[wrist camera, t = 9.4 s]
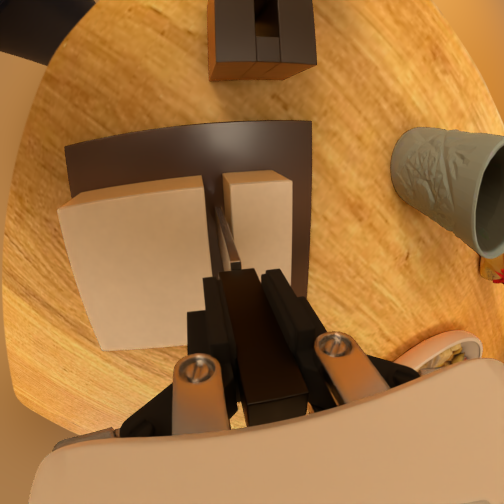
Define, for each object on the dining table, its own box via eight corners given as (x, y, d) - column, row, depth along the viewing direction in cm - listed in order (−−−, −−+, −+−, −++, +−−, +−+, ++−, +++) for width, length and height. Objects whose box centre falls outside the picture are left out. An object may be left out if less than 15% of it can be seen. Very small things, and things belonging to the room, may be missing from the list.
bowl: (303, 437, 43) (317, 473, 36) (419, 302, 34) (455, 336, 27) (399, 431, 53) (413, 454, 46) (484, 334, 45) (506, 355, 38)
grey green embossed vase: (456, 146, 26) (539, 170, 15) (430, 224, 30) (506, 270, 19) (399, 104, 23) (498, 111, 12) (368, 196, 27) (458, 244, 16)
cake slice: (222, 173, 22) (230, 185, 18) (272, 169, 23) (292, 181, 18) (231, 304, 27) (240, 338, 23) (273, 298, 28) (289, 330, 23)
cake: (81, 192, 20) (56, 209, 16) (201, 175, 22) (203, 187, 17) (112, 316, 25) (101, 351, 21) (214, 306, 27) (220, 341, 22)
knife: (206, 207, 20) (245, 395, 6) (229, 205, 21) (312, 382, 6) (209, 241, 22) (250, 445, 7) (231, 239, 22) (302, 433, 7)
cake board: (68, 145, 19) (63, 146, 18) (307, 120, 23) (311, 120, 22) (116, 341, 28) (115, 348, 27) (301, 319, 31) (304, 324, 30)
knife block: (207, 6, 17) (214, -33, 11) (279, 8, 18) (309, -25, 12) (208, 81, 20) (215, 62, 14) (283, 80, 21) (317, 65, 15)
